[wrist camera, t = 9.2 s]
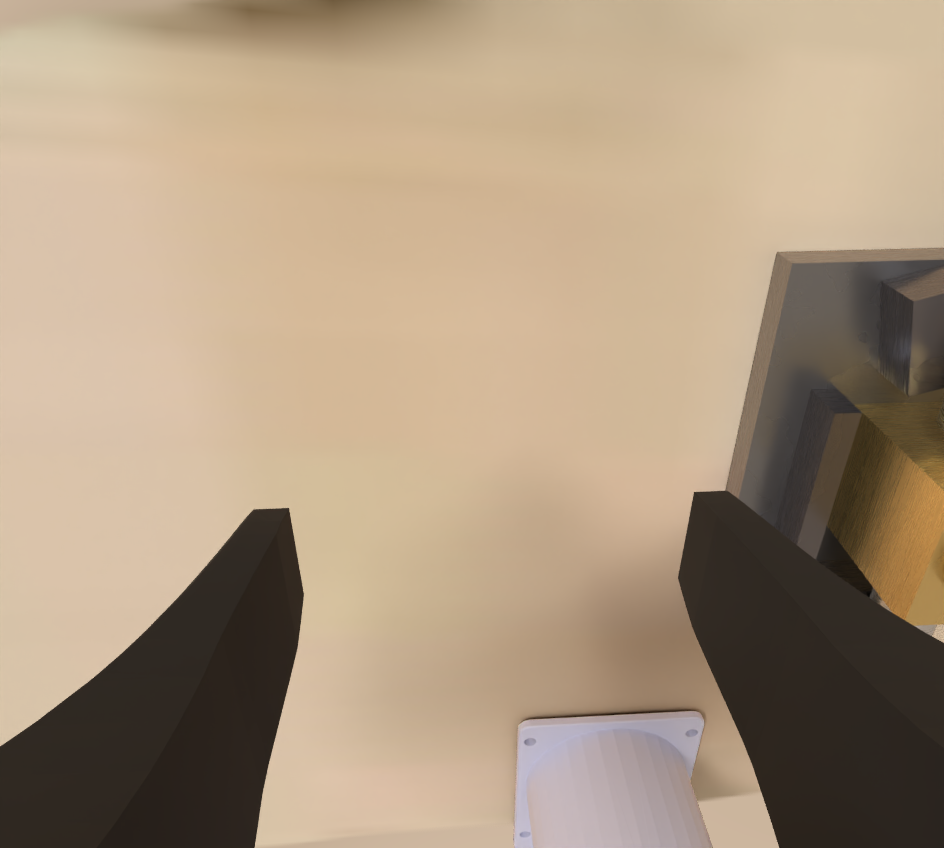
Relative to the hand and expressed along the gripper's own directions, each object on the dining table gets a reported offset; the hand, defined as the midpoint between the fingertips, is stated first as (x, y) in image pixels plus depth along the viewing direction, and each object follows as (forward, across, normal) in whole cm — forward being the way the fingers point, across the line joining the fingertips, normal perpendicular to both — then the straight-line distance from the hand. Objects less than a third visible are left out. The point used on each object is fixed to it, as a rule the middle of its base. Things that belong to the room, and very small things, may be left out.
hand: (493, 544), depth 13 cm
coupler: (+9, -14, +5) cm, 17 cm away
